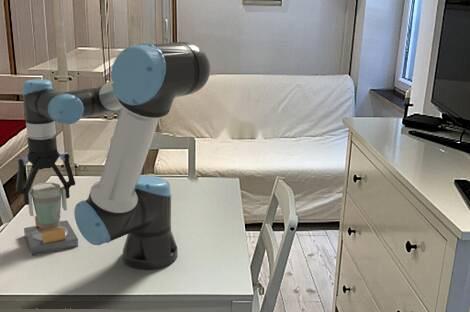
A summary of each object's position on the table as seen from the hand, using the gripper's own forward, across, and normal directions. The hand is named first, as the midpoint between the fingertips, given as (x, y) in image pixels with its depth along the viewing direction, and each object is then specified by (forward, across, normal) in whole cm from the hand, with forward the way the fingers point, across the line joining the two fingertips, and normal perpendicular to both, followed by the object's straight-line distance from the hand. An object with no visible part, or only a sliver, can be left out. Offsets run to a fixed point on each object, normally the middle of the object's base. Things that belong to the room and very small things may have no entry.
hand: (48, 211), depth 150 cm
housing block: (+9, 0, 0) cm, 9 cm away
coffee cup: (+5, 0, 0) cm, 5 cm away
